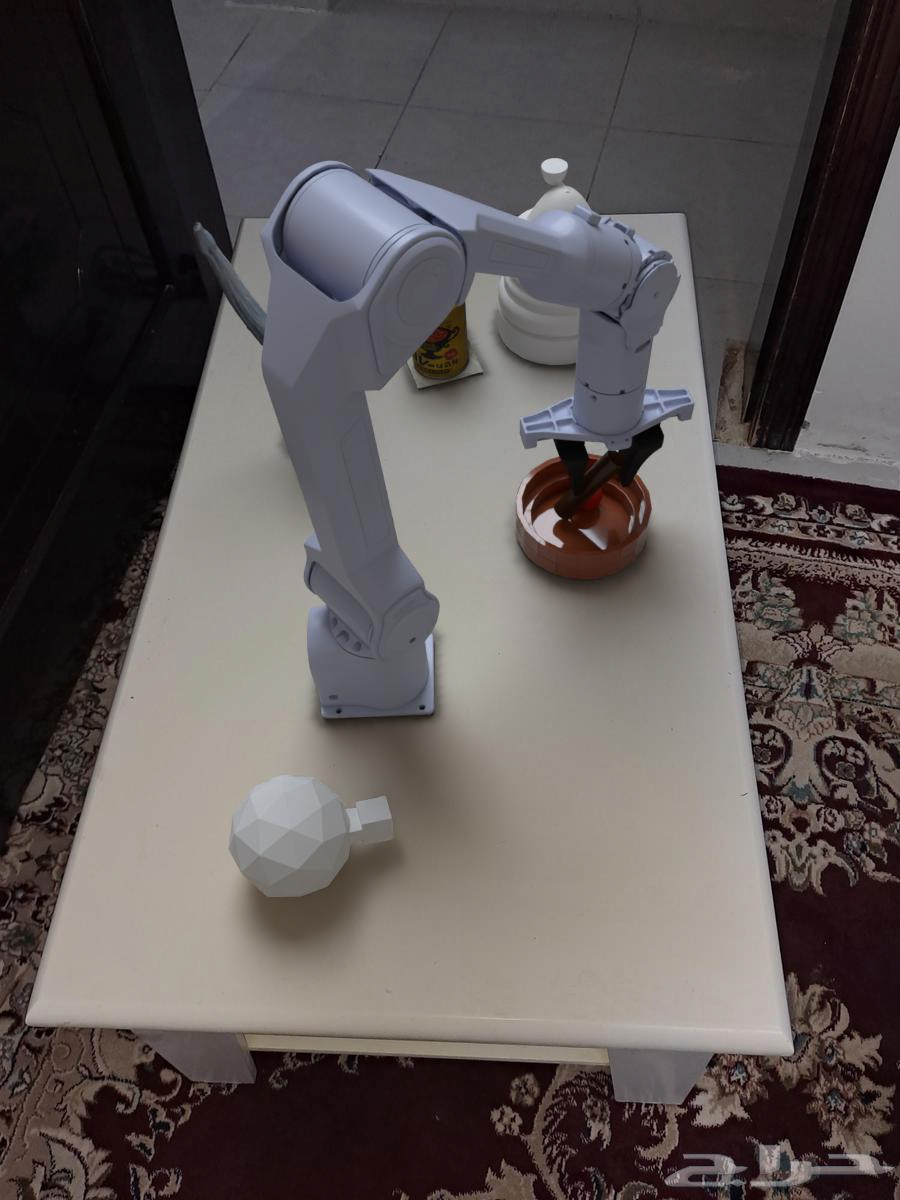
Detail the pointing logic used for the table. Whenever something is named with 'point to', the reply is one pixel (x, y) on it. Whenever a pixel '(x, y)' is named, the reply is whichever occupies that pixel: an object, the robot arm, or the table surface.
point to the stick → (590, 484)
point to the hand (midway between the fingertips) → (599, 483)
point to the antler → (232, 284)
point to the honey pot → (532, 322)
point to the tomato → (593, 501)
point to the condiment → (445, 353)
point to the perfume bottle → (300, 834)
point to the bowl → (581, 524)
